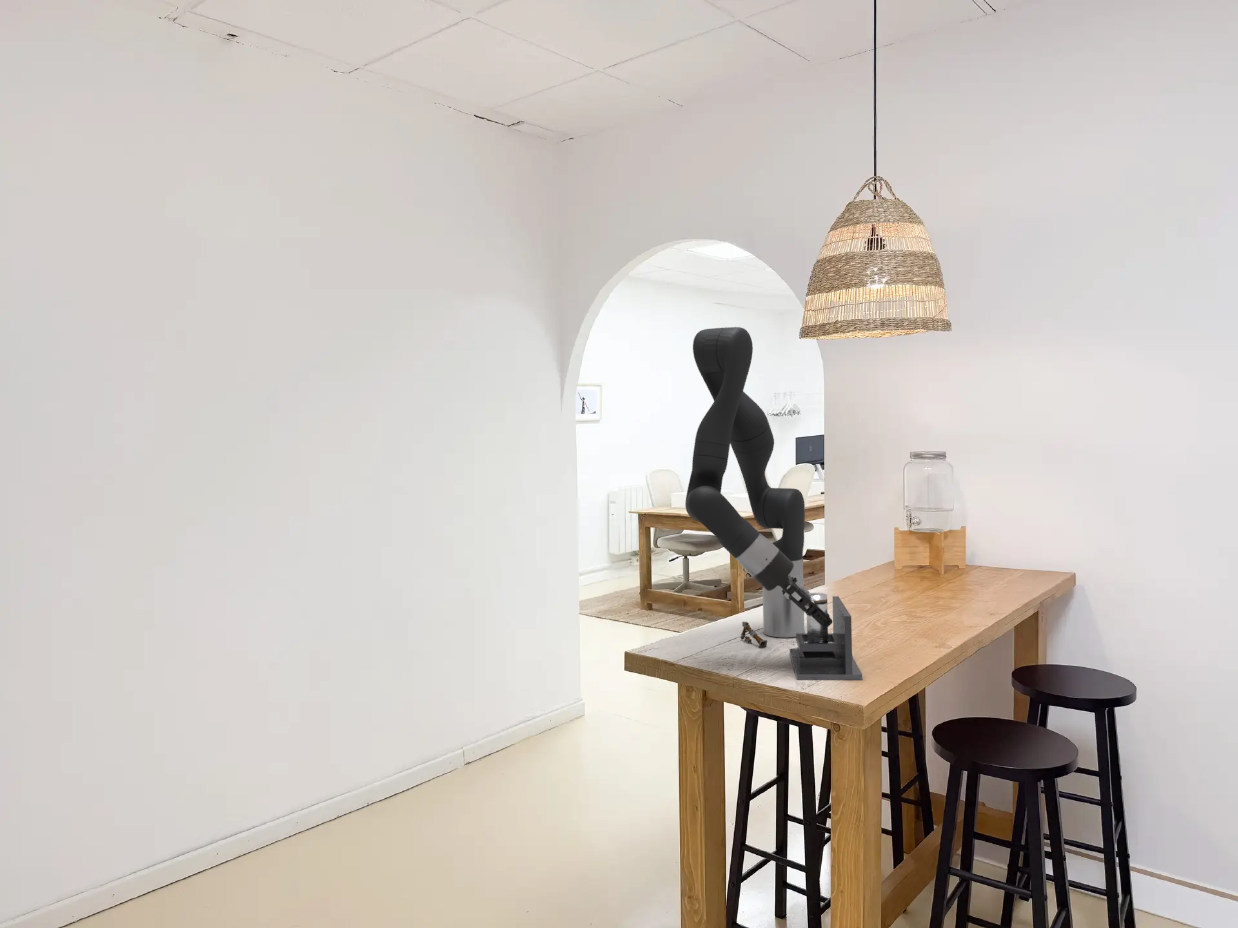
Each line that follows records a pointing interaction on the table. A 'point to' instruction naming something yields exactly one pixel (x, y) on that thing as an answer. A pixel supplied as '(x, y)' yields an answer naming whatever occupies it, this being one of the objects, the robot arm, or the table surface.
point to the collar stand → (827, 651)
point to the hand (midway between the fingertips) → (827, 621)
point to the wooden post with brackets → (754, 635)
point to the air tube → (813, 627)
